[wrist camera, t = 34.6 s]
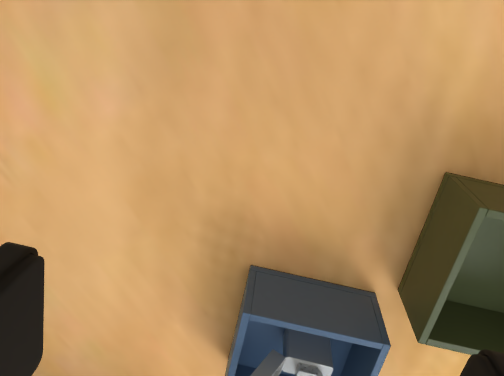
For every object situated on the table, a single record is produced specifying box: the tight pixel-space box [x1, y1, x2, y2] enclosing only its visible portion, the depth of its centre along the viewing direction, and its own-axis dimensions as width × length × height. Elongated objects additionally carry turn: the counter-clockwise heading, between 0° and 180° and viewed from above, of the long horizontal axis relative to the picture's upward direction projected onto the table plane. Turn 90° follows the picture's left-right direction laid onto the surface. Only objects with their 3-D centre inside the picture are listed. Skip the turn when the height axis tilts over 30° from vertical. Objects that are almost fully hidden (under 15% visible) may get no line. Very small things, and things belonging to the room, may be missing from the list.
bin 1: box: [225, 265, 391, 376], centre depth 38 cm, size 12×12×7 cm
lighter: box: [250, 328, 333, 376], centre depth 37 cm, size 7×2×8 cm, turn 77°
